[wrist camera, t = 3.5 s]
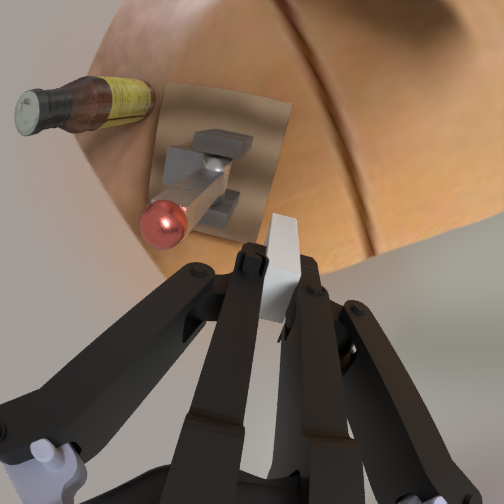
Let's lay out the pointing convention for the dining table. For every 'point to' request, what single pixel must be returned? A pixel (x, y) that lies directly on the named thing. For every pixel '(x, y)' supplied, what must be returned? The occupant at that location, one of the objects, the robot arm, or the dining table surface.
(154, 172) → the base
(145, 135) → the dining table surface
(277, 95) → the dining table surface
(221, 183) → the lever
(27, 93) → the sauce bottle
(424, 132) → the dining table surface
